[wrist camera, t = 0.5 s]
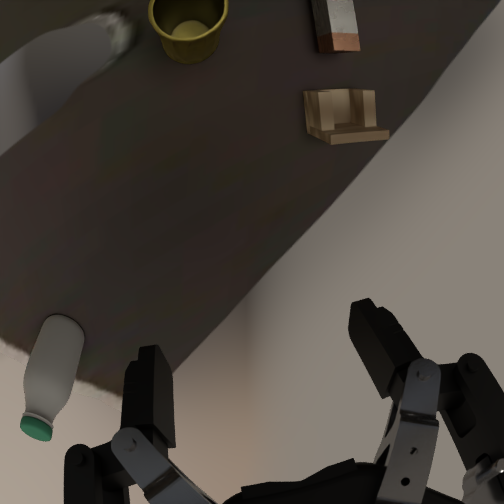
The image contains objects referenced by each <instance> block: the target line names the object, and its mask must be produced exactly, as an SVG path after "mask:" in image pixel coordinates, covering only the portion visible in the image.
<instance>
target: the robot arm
mask: <svg viewBox="0 0 504 504" xmlns="http://www.w3.org/2000/svg"><path fill="white" fill-rule="evenodd" d="M348 331H349V336H350V339H351V341H352V343H353V345H354V347H355V348H356V350H357V352H358V354H359V356H360V358H361V359H362V362H363V363H364V365H365V367H366V369H367V371H368V373H369V375H370V376H371V378H372V380H373V383H374V384H375V386H376V388H377V390H378V392H379V394H380V396H381V398H382V399H384V398H386V397H389V396H390V397H391V398H392V400H393V402H392V405H391V409H390V413H389V417H388V421H387V425H386V428H385V432H384V435H383V438H382V442H381V444H380V447H379V449H378V451H377V453H376V456H375V459H374V462H373V463H367V462H357V463H355V460H354V458H352V459H349V460H346V461H343V462H340V463H337V464H334V465H331V466H328V467H326V468H324V469H322V470H320V471H319V472H317V473H315V474H313V475H311V476H310V477H308V478H306V479H304V480H302V481H296V482H265V483H260V484H255V485H249V486H243V487H241V491H242V492H240V493H238V494H235V495H234V496H232V497H230V498H229V499H227V500H226V501H225V502H224V503H223V504H504V392H503V390H502V389H501V387H500V385H499V384H498V382H497V380H496V379H495V377H494V376H493V374H492V372H491V371H490V369H489V368H488V366H487V365H486V363H485V362H484V360H483V359H482V358H481V357H480V356H478V355H477V354H474V353H467V354H464V355H462V356H461V357H460V359H459V360H458V362H457V363H449V364H440V365H438V364H436V363H435V362H434V361H432V360H430V359H425V358H423V357H422V356H421V354H420V353H419V351H418V350H417V348H416V347H415V345H414V344H413V342H412V341H411V339H410V338H409V336H408V335H407V334H406V332H405V331H404V330H403V328H402V326H401V325H400V324H399V323H398V321H397V319H396V318H395V316H394V315H393V314H392V313H391V312H390V311H388V310H387V309H385V308H384V307H379V308H377V307H376V306H375V305H374V303H373V301H371V299H369V298H366V299H362V300H359V301H355V302H352V304H351V309H350V317H349V325H348ZM124 384H125V385H124V388H123V392H124V394H123V400H122V413H121V426H120V430H119V431H118V432H117V433H116V434H115V435H114V436H113V438H112V440H111V441H110V442H107V443H105V444H102V445H99V446H96V447H93V448H89V447H88V446H86V445H84V444H76V445H73V446H72V447H70V448H69V449H68V451H67V452H66V455H65V461H64V504H130V498H129V488H128V486H131V485H134V484H138V485H139V487H140V488H141V489H142V490H143V492H144V496H145V498H146V499H147V501H148V502H149V503H150V504H217V503H216V502H215V501H214V500H213V499H212V498H210V497H209V496H208V495H207V494H206V493H205V492H203V491H202V490H201V489H200V488H199V487H198V486H196V485H195V484H194V483H193V482H192V481H191V480H190V479H189V478H188V477H187V476H186V475H185V474H184V473H183V472H182V471H181V470H180V469H179V468H178V467H177V466H176V465H175V464H174V463H173V462H172V461H171V460H170V459H169V458H168V448H175V447H176V442H175V425H174V401H173V376H172V371H171V368H170V366H169V364H168V362H167V360H166V358H165V356H164V354H163V353H162V351H161V349H160V347H159V345H150V346H144V347H140V348H139V354H138V360H137V361H131V362H130V364H129V366H128V368H127V369H126V371H125V378H124ZM437 411H439V412H440V414H441V415H442V418H443V420H444V422H445V424H446V426H447V428H448V430H449V432H450V435H451V436H452V439H453V441H454V443H455V445H456V447H457V450H458V452H459V454H460V456H461V459H462V461H463V464H464V466H465V468H466V470H467V472H466V474H465V475H464V478H463V485H462V488H463V490H464V496H463V499H462V501H460V500H458V499H455V498H452V497H450V496H447V495H445V494H442V493H440V492H438V491H435V490H433V489H431V488H428V487H426V485H427V480H428V476H429V473H430V469H431V465H432V460H433V455H434V451H435V446H436V441H437V435H438V430H439V421H438V420H436V412H437Z"/></svg>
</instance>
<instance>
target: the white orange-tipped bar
mask: <svg viewBox="0 0 504 504" xmlns="http://www.w3.org/2000/svg"><path fill="white" fill-rule="evenodd" d="M311 3H312V8H313V14H314V20H315V27H316V33H317V40H318V47H319V53H348V52H356V51H360V45H359V37H358V30H357V23H356V17H355V11H354V5H353V0H311Z"/></svg>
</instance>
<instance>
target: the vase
mask: <svg viewBox="0 0 504 504" xmlns="http://www.w3.org/2000/svg"><path fill="white" fill-rule="evenodd" d="M148 16H149V21H150V23H151V25H152V26H153V28H154V29H155V31H156V32H157V33H158V35H159V36H160V39H161V41H162V45H163V49H164V51H165V52H166V54H167V55H168V56H169V57H170V58H171V59H173V60H174V61H176V62H179V63H184V64H194V63H198V62H201V61H203V60H205V59H207V58H208V57H209V56H210V55H212V54H213V52H214V51H215V50H216V48H217V46H218V43H219V36H220V31H221V29H222V27H223V25H224V23H225V21H226V19H227V16H228V0H150V3H149V6H148Z"/></svg>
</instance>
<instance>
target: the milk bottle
mask: <svg viewBox="0 0 504 504" xmlns="http://www.w3.org/2000/svg"><path fill="white" fill-rule="evenodd" d="M84 340H85V337H84V333H83V330H82V328H81V327H80V326H79V325H78V324H77V323H76V322H75V321H74V320H72V319H71V318H69V317H66V316H63V315H52V316H50V317H48V318H47V319H46V320H45V322H44V324H43V326H42V328H41V330H40V333H39V335H38V337H37V340H36V342H35V345H34V347H33V350H32V353H31V355H30V358H29V361H28V364H27V367H26V370H25V374H24V393H25V401H26V410H25V413H23V417H22V419H21V423H20V428H21V429H22V431H23V432H25V433H26V434H27V435H29V436H30V437H32V438H35V439H37V440H40V441H50V440H51V438H52V429H53V425H52V423H53V420H54V418H55V417H56V415H57V414H58V413H59V411H60V410H61V409H62V408H63V407H64V406H65V404H66V403H67V401H68V399H69V396H70V394H71V390H72V387H73V383H74V379H75V375H76V371H77V367H78V363H79V359H80V356H81V352H82V348H83V344H84Z"/></svg>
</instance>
